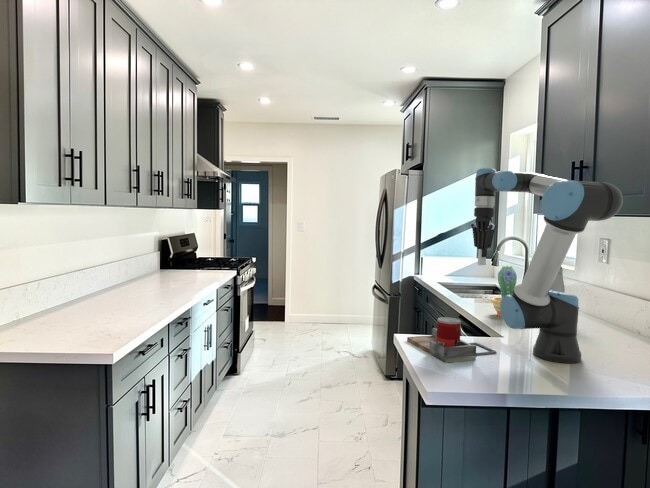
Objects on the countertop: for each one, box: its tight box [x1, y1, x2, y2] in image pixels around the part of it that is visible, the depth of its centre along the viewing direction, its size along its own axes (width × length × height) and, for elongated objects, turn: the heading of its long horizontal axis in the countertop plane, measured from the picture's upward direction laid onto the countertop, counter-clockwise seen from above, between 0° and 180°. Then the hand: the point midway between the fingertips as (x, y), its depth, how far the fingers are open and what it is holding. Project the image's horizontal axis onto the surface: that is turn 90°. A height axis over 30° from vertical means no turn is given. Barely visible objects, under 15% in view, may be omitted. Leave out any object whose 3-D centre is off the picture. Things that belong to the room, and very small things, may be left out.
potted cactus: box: [490, 265, 518, 318], centre depth 216 cm, size 15×15×25 cm
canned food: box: [436, 316, 462, 347], centre depth 153 cm, size 8×8×11 cm
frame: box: [468, 342, 497, 356], centre depth 159 cm, size 12×10×1 cm
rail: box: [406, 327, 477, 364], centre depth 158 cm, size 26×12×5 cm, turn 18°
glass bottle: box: [550, 266, 566, 293], centre depth 207 cm, size 10×10×28 cm
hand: (481, 264), depth 177 cm, fingers closed
